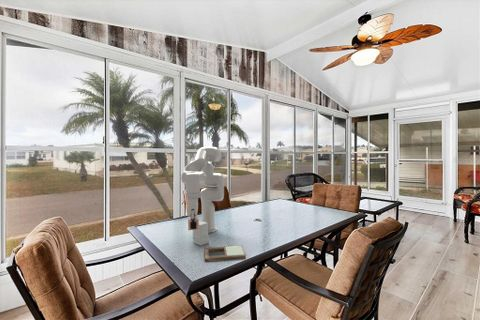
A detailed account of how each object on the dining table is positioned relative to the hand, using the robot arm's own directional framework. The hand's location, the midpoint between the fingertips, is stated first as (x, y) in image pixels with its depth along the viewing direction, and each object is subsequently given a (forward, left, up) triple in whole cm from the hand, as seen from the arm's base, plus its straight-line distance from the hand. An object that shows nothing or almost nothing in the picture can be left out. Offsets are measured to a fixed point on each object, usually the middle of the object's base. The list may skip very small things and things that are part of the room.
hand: (193, 226), depth 124 cm
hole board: (+1, +17, -16) cm, 24 cm away
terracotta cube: (0, 0, -1) cm, 1 cm away
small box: (-18, +3, -16) cm, 24 cm away
